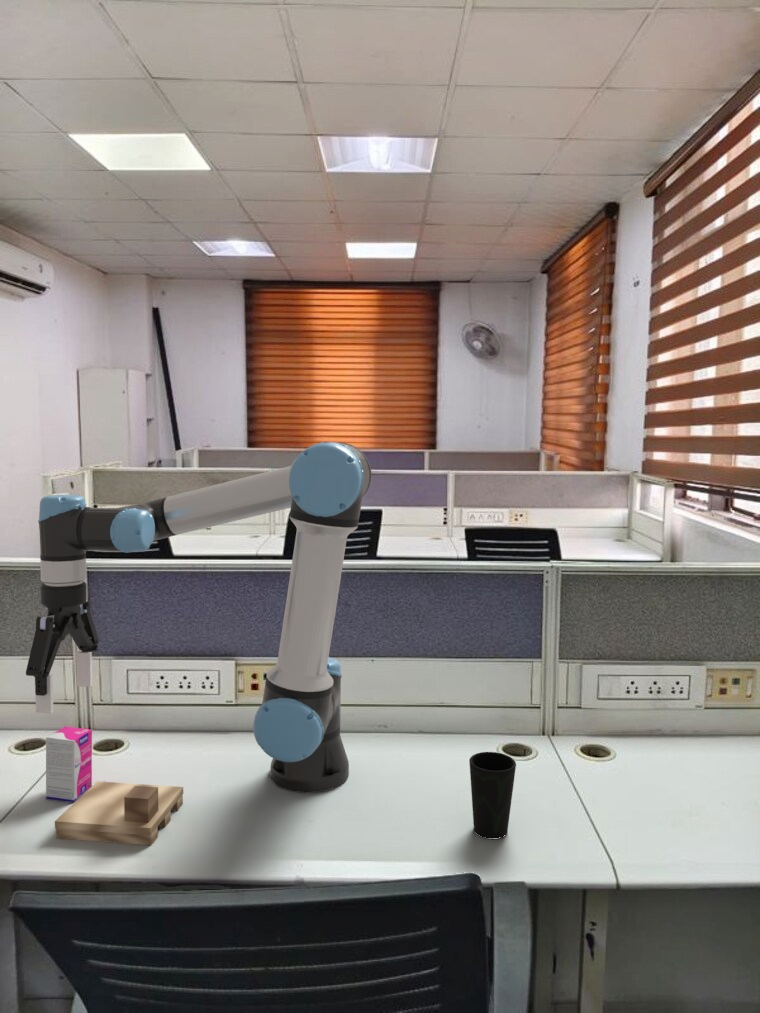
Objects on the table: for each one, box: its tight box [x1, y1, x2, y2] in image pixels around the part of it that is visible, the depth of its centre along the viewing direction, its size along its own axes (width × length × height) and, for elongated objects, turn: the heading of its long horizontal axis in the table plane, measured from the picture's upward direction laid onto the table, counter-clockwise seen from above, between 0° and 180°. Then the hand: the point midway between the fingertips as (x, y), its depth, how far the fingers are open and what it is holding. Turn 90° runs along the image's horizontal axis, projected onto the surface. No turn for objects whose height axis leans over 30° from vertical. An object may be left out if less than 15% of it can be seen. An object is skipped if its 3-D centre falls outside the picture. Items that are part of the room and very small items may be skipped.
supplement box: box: [45, 725, 93, 804], centre depth 132 cm, size 6×6×12 cm
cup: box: [469, 751, 517, 839], centre depth 122 cm, size 8×8×12 cm
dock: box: [54, 780, 184, 846], centre depth 124 cm, size 16×14×3 cm
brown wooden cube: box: [124, 786, 158, 823], centre depth 120 cm, size 4×4×4 cm
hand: (65, 698), depth 132 cm, fingers open, 13 cm apart
